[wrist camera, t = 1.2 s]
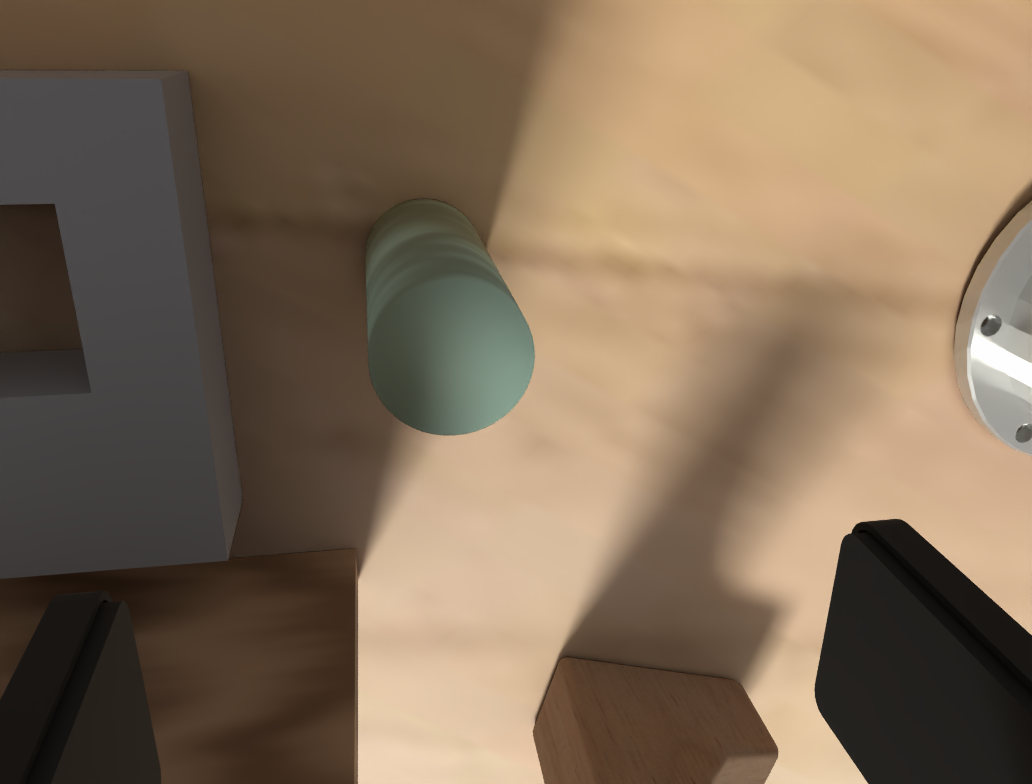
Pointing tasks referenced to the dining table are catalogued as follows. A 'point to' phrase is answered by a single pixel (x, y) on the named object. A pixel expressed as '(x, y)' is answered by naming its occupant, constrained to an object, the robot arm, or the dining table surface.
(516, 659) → the dining table surface
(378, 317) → the peg
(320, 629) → the brown notched wall
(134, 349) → the socket block
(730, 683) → the wooden block
